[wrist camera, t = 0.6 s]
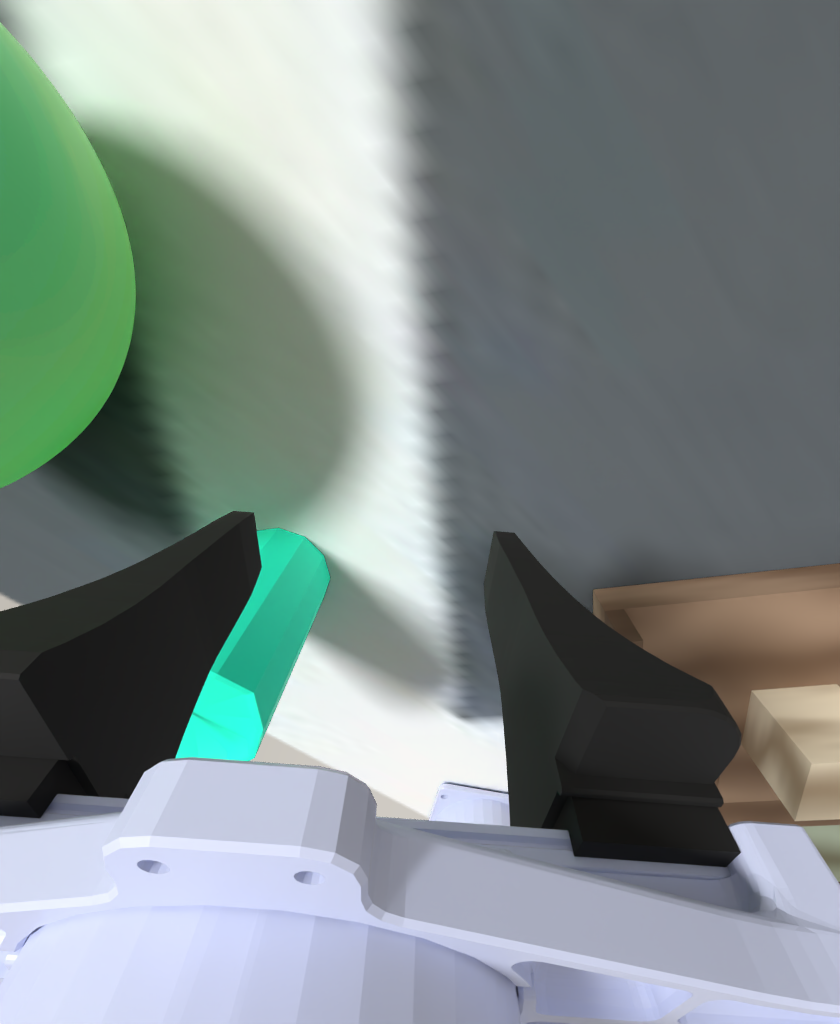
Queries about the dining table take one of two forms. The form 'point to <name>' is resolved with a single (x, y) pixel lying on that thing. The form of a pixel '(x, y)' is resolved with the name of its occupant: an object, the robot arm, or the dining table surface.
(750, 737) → the beech block
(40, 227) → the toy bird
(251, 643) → the candle
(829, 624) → the box
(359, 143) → the dining table surface
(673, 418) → the dining table surface
